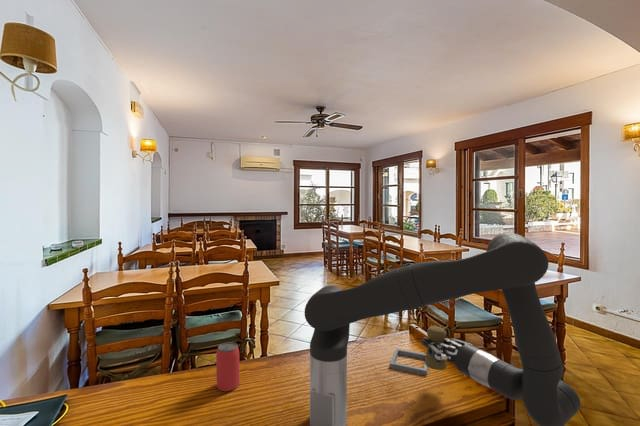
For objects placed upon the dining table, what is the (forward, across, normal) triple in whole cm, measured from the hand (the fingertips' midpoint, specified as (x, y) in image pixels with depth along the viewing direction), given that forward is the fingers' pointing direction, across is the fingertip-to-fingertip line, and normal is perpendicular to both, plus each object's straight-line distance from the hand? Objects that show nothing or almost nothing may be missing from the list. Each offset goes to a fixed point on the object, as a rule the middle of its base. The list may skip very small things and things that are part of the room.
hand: (428, 339), depth 94 cm
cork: (-3, 0, +7) cm, 7 cm away
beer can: (+25, +55, +14) cm, 62 cm away
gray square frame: (+11, -3, +13) cm, 17 cm away
